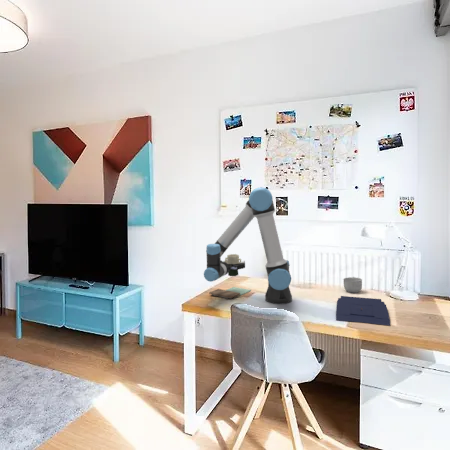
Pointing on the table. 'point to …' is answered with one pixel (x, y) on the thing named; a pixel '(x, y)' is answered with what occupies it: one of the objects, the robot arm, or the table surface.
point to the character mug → (232, 260)
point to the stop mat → (238, 290)
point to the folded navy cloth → (362, 310)
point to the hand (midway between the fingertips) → (235, 262)
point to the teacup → (352, 284)
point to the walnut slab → (224, 293)
